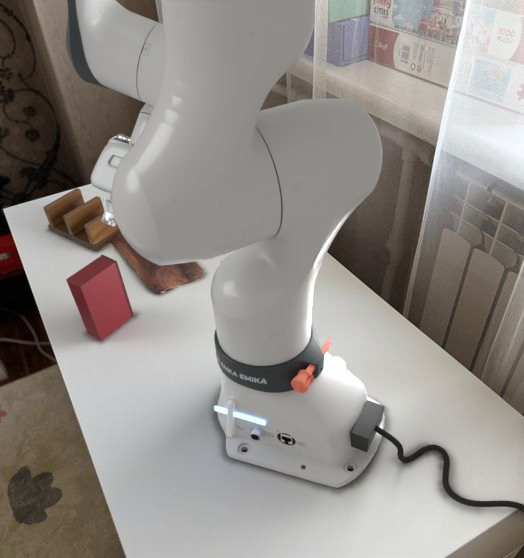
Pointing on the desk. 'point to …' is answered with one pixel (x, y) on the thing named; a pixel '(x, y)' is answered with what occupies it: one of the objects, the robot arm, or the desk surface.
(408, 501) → the desk surface
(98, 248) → the book rack
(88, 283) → the book
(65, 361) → the desk surface
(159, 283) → the brown flat bent piece
